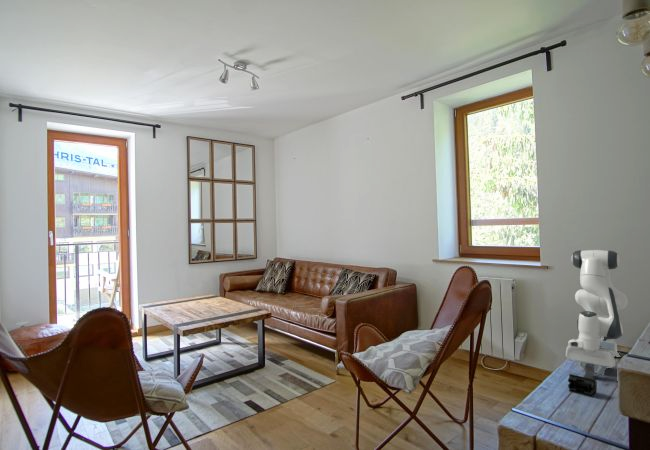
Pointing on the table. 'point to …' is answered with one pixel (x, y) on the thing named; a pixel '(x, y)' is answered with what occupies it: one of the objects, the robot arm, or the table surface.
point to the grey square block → (603, 368)
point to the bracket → (589, 371)
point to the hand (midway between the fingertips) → (589, 371)
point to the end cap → (582, 385)
